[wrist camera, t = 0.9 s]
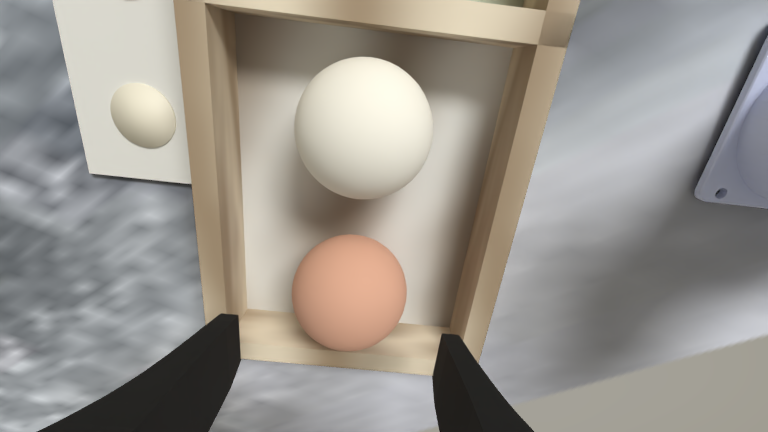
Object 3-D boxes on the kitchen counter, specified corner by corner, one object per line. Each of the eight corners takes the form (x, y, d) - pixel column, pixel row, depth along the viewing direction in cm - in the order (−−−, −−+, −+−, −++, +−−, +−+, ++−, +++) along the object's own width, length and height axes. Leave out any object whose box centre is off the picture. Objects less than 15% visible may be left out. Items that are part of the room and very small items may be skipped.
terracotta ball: (410, 222, 17) (419, 279, 13) (397, 307, 19) (401, 383, 15) (306, 211, 17) (276, 265, 12) (303, 298, 19) (277, 372, 14)
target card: (192, -205, 12) (186, -213, 12) (219, 185, 18) (215, 187, 17) (10, -232, 12) (-2, -241, 12) (94, 171, 17) (87, 173, 17)
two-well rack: (697, -638, 9) (867, -1022, 6) (460, 331, 21) (473, 379, 18) (176, -744, 9) (50, -1228, 5) (236, 310, 21) (208, 355, 17)
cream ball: (434, 65, 15) (457, 65, 10) (416, 182, 16) (428, 228, 12) (311, 50, 14) (276, 44, 10) (307, 170, 16) (276, 212, 12)
